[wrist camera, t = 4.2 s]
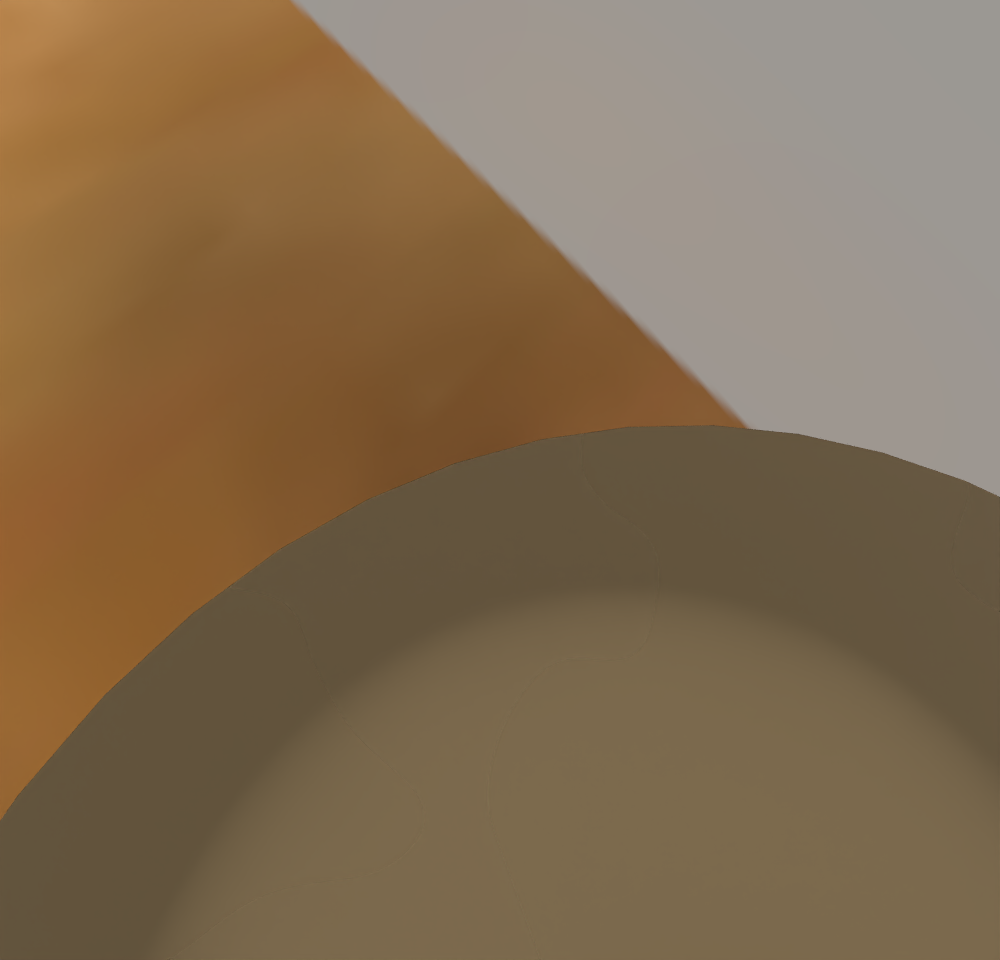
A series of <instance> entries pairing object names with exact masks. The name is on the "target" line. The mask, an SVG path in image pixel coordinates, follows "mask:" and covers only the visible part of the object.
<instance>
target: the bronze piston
mask: <svg viewBox="0 0 1000 960" xmlns="http://www.w3.org/2000/svg"><path fill="white" fill-rule="evenodd" d="M0 960H1000V497H999V496H997V495H994V494H992V493H990V492H988V491H986V490H984V489H982V488H979V487H977V486H975V485H973V484H971V483H969V482H966V481H964V480H961V479H958V478H955V477H952V476H949V475H946V474H943V473H940V472H938V471H935V470H932V469H929V468H926V467H923V466H919V465H917V464H914V463H911V462H908V461H905V460H902V459H899V458H896V457H893V456H890V455H888V454H885V453H881V452H877V451H872V450H868V449H863V448H859V447H855V446H850V445H845V444H841V443H836V442H832V441H827V440H823V439H818V438H814V437H809V436H805V435H800V434H793V433H782V432H773V431H763V430H753V429H744V428H734V427H724V426H714V425H710V426H660V427H626V428H619V429H612V430H605V431H598V432H591V433H584V434H577V435H570V436H563V437H556V438H549V439H542V440H539V441H535V442H531V443H528V444H524V445H520V446H517V447H513V448H509V449H506V450H502V451H499V452H495V453H491V454H488V455H484V456H480V457H477V458H473V459H469V460H466V461H462V462H458V463H455V464H453V465H450V466H448V467H445V468H443V469H441V470H438V471H436V472H433V473H431V474H428V475H426V476H424V477H421V478H419V479H416V480H414V481H412V482H409V483H407V484H404V485H402V486H399V487H397V488H395V489H392V490H390V491H387V492H385V493H383V494H380V495H378V496H375V497H373V498H370V499H368V500H366V501H365V502H363V503H361V504H359V505H357V506H356V507H354V508H352V509H350V510H349V511H347V512H345V513H343V514H342V515H340V516H338V517H336V518H334V519H333V520H331V521H329V522H327V523H326V524H324V525H322V526H320V527H319V528H317V529H315V530H313V531H311V532H310V533H308V534H306V535H304V536H303V537H301V538H299V539H297V540H296V541H294V542H292V543H290V544H289V545H287V546H285V547H283V548H281V549H280V550H278V551H277V552H276V553H274V554H273V555H272V556H270V557H269V558H268V559H266V560H265V561H263V562H262V563H261V564H259V565H258V566H257V567H255V568H254V569H253V570H251V571H250V572H249V573H247V574H246V575H244V576H243V577H242V578H240V579H239V580H238V581H236V582H235V583H234V584H232V585H231V586H229V587H228V588H227V589H225V590H224V591H223V592H221V593H220V594H219V595H217V596H216V597H214V598H213V599H212V600H210V601H209V602H208V603H206V604H205V605H204V606H202V607H201V608H200V609H198V610H197V611H195V612H194V613H193V614H192V615H190V616H189V617H188V618H187V619H186V620H185V621H184V622H183V623H182V624H181V625H180V626H179V627H178V628H176V629H175V630H174V631H173V632H172V633H171V634H170V635H169V636H168V637H167V638H166V639H165V640H164V641H162V642H161V643H160V644H159V645H158V646H157V647H156V648H155V649H154V650H153V651H152V652H151V653H150V654H148V655H147V656H146V657H145V658H144V659H143V660H142V661H141V662H140V663H139V664H138V665H137V666H136V667H134V668H133V669H132V670H131V671H130V672H129V673H128V674H127V675H126V676H125V677H124V678H123V679H122V680H120V681H119V682H118V683H117V684H116V685H115V686H114V687H113V688H112V689H111V690H110V691H109V692H108V693H106V694H105V695H104V697H103V698H102V699H101V700H100V701H99V702H98V703H97V705H96V706H95V707H94V708H93V709H92V710H91V712H90V713H89V714H88V715H87V716H86V717H85V719H84V720H83V721H82V722H81V723H80V724H79V725H78V727H77V728H76V729H75V730H74V731H73V732H72V734H71V735H70V736H69V737H68V738H67V739H66V741H65V742H64V743H63V744H62V745H61V746H60V747H59V749H58V750H57V751H56V752H55V753H54V754H53V756H52V757H51V758H50V759H49V760H48V761H47V763H46V764H45V765H44V766H43V767H42V768H41V769H40V771H39V772H38V773H37V774H36V775H35V776H34V778H33V779H32V780H31V781H30V782H29V783H28V785H27V786H26V787H25V788H24V789H23V790H22V791H21V793H20V794H19V795H18V796H17V798H16V799H15V801H14V802H13V803H12V805H11V806H10V808H9V809H8V811H7V812H6V814H5V815H4V816H3V818H2V819H1V821H0Z"/></svg>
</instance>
